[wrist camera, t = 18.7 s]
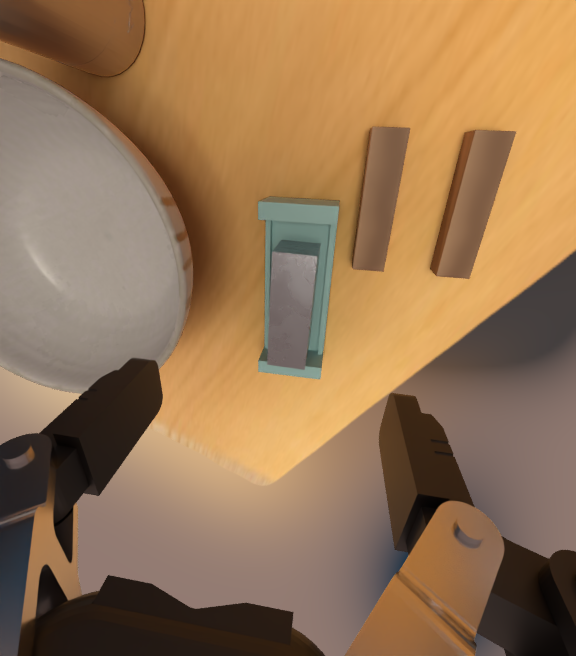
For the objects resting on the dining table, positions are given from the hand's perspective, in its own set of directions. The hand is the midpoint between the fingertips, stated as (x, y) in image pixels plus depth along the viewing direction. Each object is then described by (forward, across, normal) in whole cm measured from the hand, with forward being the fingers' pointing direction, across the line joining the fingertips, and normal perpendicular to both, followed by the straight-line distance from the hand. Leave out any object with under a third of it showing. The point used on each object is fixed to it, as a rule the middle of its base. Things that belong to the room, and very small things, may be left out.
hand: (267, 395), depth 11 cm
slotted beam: (+25, -10, -4) cm, 27 cm away
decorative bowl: (+26, +22, +2) cm, 34 cm away
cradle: (+25, +1, +5) cm, 26 cm away
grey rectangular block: (+24, +1, +6) cm, 25 cm away
